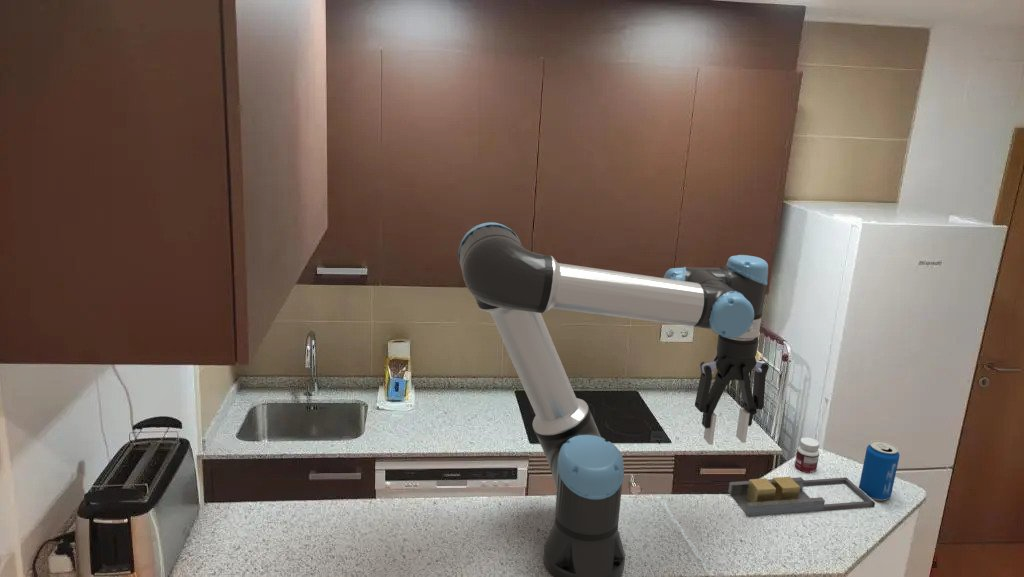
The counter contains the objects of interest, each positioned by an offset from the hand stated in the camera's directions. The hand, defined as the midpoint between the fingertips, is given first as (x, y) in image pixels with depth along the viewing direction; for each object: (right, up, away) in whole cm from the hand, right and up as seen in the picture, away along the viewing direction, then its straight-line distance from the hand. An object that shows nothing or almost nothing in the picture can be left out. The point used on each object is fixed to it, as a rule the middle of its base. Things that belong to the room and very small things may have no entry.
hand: (724, 440), depth 145 cm
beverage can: (+37, -15, +14) cm, 43 cm away
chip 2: (+15, -14, +7) cm, 22 cm away
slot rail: (+13, -16, +7) cm, 22 cm away
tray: (+27, -16, +10) cm, 33 cm away
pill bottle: (+25, -12, +21) cm, 35 cm away
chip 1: (+9, -15, +6) cm, 18 cm away
